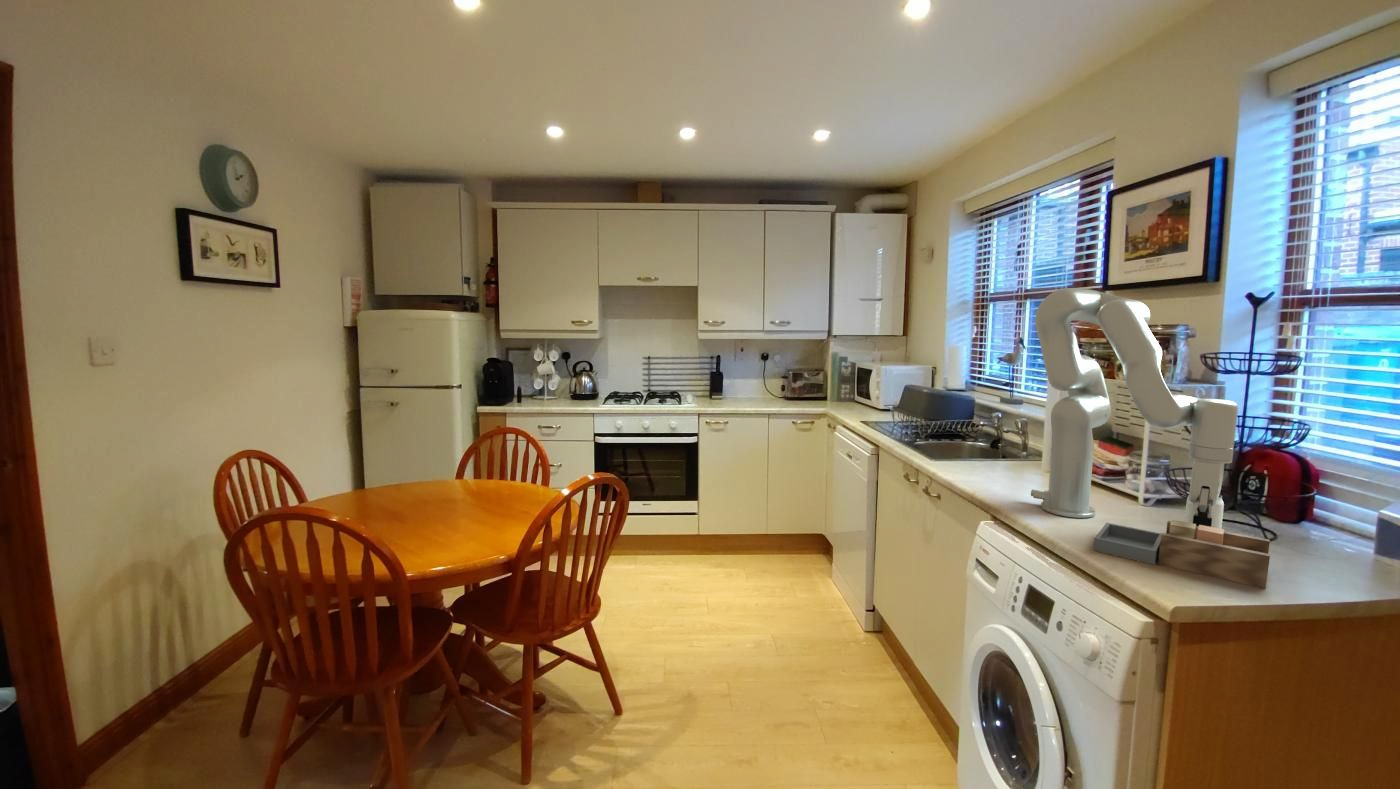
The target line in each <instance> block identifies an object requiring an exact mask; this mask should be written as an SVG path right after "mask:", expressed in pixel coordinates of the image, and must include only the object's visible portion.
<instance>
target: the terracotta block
mask: <svg viewBox="0 0 1400 789" xmlns="http://www.w3.org/2000/svg"><path fill="white" fill-rule="evenodd" d="M1224 531H1225V529H1224V528H1221V529H1220V528H1214V527H1209V526H1204V525H1199V527H1198V531H1197V540H1201V541H1206V542H1211V543H1216V544H1221V545H1222V544H1223V535H1224Z"/></svg>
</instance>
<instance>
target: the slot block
mask: <svg viewBox="0 0 1400 789" xmlns="http://www.w3.org/2000/svg"><path fill="white" fill-rule="evenodd" d="M1171 522H1172V520H1168V521H1167V524H1166V530H1165V533H1164V532H1161V533H1162V534H1161V542H1160V552H1159V557H1158V562H1157V563H1158V564H1157V565H1160V564H1161V566H1166V567H1170V568H1174V569H1179V570H1181V571H1182V570H1183V571H1185V572H1187V571H1188V572H1192V573H1197V574H1200V575H1204V576H1209V577H1213V578H1218V579H1222V580H1227V581H1232V582H1236V583H1239V584H1244V585H1249V586H1253V587H1258V588H1262V589H1266V588H1267V581H1268V574H1269V566H1270V557H1271V554H1270V553H1269V550H1270V542H1271V541H1270V540H1271V539H1268V538H1262V537H1257V536H1252V535H1246V534H1241V533H1236V532H1230V531H1227V530H1226V531H1225V530H1224V535H1223V544H1222V545H1221V544H1216V543H1211V542H1206V541H1201V540H1197V531H1198V527H1199V526H1196V530H1195V539H1191V538H1186V537H1181V536H1176V535H1170V534H1169V532H1170V524H1171Z"/></svg>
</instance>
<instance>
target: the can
mask: <svg viewBox="0 0 1400 789" xmlns="http://www.w3.org/2000/svg"><path fill="white" fill-rule="evenodd" d="M1199 496H1200V495H1199ZM1186 498H1187V499H1186V502H1185V503H1186V505H1185V515H1184V521H1183V522H1187V523H1193V515H1195V508H1196V501H1197V499H1196V501H1192V503H1191V502H1189V501H1188V499H1189V495H1188V496H1187V497H1186ZM1210 501H1211V498H1210ZM1199 502H1200V500H1199ZM1207 503H1208V504H1210V502H1208V501H1207ZM1224 503H1225V502H1224V501H1223V495H1221V494H1220V495H1219V498H1218V501H1217V504H1216V505H1215V506H1212V511H1211V518H1212V525H1211V527H1214V528H1220V529H1222V527H1223V517H1224V516H1223V515H1224V508H1225V504H1224ZM1207 508H1208V509H1209V507H1207Z"/></svg>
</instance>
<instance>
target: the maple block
mask: <svg viewBox="0 0 1400 789" xmlns="http://www.w3.org/2000/svg"><path fill="white" fill-rule="evenodd" d="M1171 521H1172V522H1171V524H1170V532H1169V534H1170V535H1176V536H1181V537H1186V538H1191V539H1195V530H1196V524H1193V523H1187V522H1184V521H1181V520H1176V519H1172V520H1171Z"/></svg>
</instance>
